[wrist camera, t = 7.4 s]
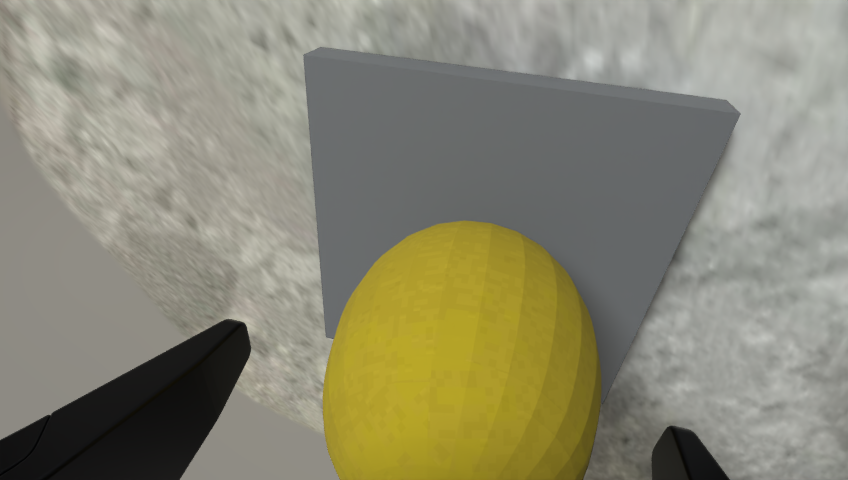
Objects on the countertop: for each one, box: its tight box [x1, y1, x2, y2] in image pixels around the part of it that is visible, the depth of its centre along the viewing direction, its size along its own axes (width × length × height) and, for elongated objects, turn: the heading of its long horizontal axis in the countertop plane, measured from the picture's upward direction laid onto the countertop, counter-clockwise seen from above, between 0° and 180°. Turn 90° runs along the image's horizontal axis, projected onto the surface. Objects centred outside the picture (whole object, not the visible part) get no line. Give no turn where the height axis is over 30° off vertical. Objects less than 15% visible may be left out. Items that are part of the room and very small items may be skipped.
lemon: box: [323, 221, 602, 480], centre depth 10 cm, size 6×6×8 cm
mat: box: [303, 47, 740, 404], centre depth 14 cm, size 10×10×1 cm
